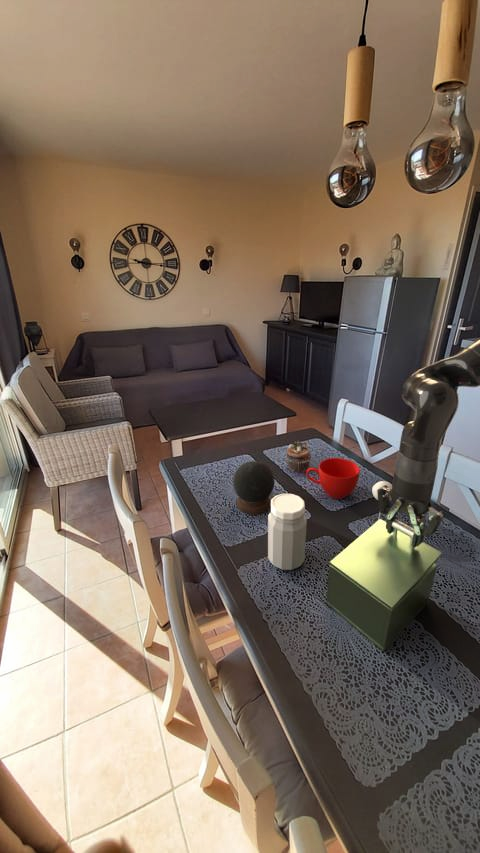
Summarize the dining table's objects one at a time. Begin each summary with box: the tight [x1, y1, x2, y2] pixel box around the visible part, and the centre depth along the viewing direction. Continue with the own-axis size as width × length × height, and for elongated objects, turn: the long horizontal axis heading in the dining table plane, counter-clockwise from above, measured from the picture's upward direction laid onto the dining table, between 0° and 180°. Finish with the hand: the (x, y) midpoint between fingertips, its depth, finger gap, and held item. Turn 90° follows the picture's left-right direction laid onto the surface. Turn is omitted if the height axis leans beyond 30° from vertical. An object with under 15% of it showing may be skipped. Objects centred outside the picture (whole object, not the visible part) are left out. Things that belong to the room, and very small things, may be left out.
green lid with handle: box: [329, 518, 443, 610], centre depth 76 cm, size 19×15×5 cm
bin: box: [325, 562, 438, 653], centre depth 80 cm, size 18×15×12 cm
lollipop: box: [371, 480, 392, 521], centre depth 103 cm, size 6×6×15 cm
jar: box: [267, 493, 308, 571], centre depth 92 cm, size 10×10×18 cm
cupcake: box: [285, 440, 312, 473], centre depth 136 cm, size 10×10×10 cm
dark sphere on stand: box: [232, 460, 275, 515], centre depth 115 cm, size 13×13×15 cm
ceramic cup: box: [305, 457, 361, 500], centre depth 120 cm, size 13×17×10 cm
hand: (402, 537), depth 80 cm, fingers closed on green lid with handle, 5 cm apart
